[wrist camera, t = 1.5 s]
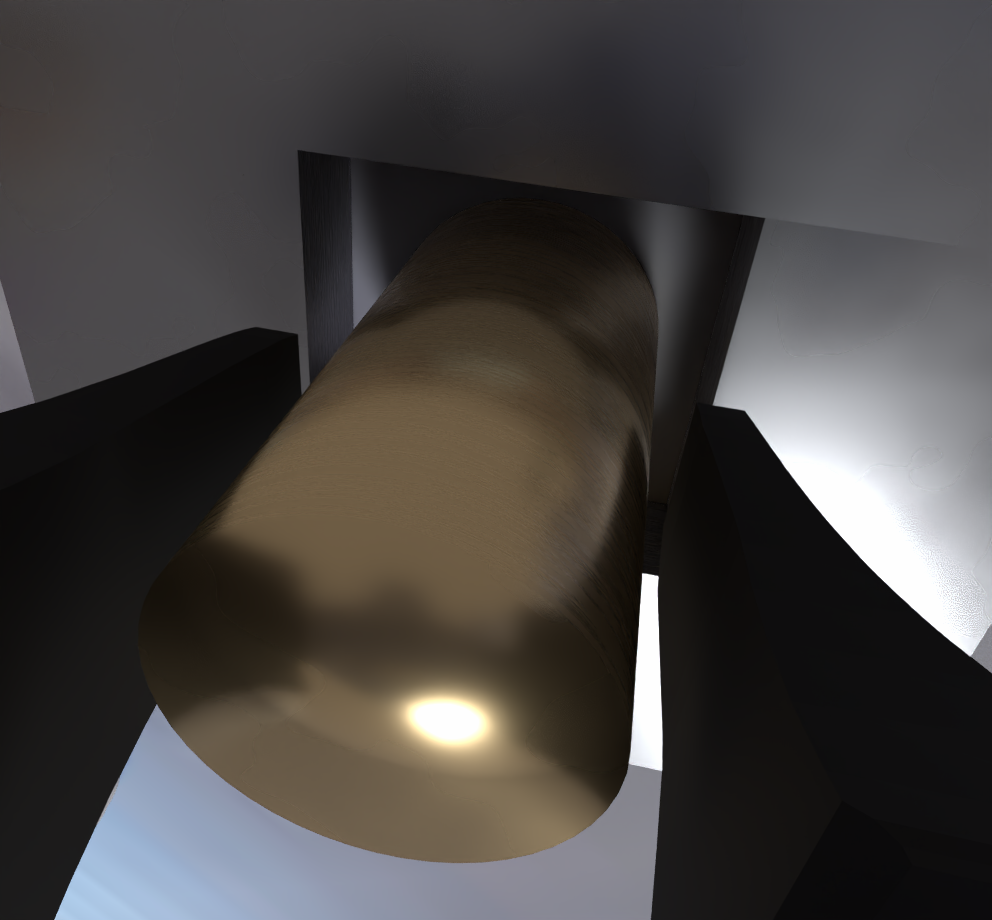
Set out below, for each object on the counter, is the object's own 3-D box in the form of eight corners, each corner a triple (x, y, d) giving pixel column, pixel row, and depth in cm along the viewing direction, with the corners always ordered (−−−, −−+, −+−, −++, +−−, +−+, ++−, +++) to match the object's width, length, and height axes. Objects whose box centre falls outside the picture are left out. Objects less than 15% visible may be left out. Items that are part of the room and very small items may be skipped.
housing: (1398, -267, 8) (1576, -309, 6) (852, 731, 17) (869, 817, 16) (-54, -374, 10) (-202, -431, 8) (154, 584, 19) (104, 647, 17)
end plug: (685, 221, 12) (683, 585, 6) (631, 461, 15) (587, 902, 8) (400, 179, 13) (92, 468, 6) (396, 418, 15) (176, 804, 9)
